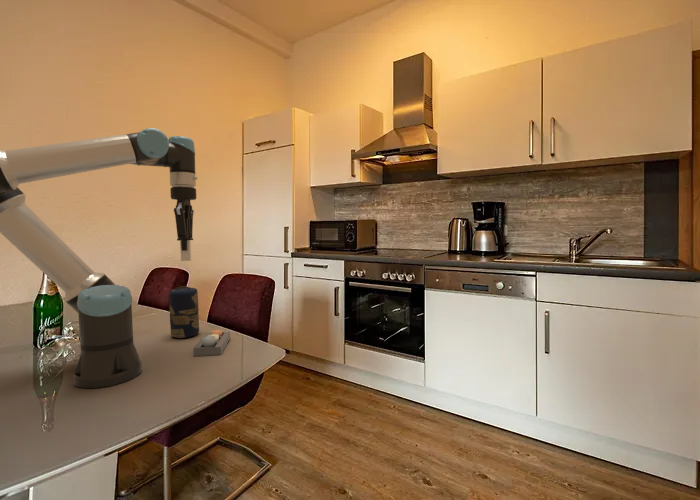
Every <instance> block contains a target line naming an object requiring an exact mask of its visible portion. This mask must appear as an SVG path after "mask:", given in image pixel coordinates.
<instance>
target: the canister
mask: <svg viewBox="0 0 700 500" xmlns="http://www.w3.org/2000/svg"><path fill="white" fill-rule="evenodd" d="M168 299H169V300H168V301H169V302H168V303H169V324H170V336H172V337H174V338H177V339H181V338H182V339H183V338H190V337H193V336H196V335H197V334H199V332H200V320H199V318H200V317H199V311H200V310H199V291H198V289H197V288H194V287H189V286H186V285H185V286H184V285H183V286H178V287H176V288H174V289H170V290H169V292H168Z"/></svg>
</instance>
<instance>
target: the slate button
mask: <svg viewBox="0 0 700 500" xmlns="http://www.w3.org/2000/svg"><path fill="white" fill-rule="evenodd" d="M202 337H203V336H202ZM213 346H215V336H206V337H203V347H213Z"/></svg>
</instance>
